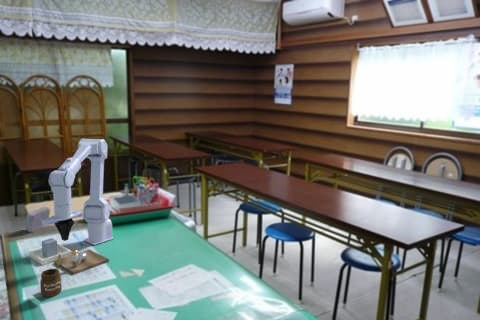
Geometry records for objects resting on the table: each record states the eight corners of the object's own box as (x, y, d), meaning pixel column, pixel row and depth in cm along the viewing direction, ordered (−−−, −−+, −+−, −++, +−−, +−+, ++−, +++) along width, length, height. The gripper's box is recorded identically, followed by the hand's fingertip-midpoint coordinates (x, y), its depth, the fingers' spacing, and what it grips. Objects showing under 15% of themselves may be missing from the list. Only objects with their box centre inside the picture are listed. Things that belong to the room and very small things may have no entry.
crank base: (89, 251, 149) (88, 249, 149) (109, 261, 141) (108, 258, 141) (54, 263, 139) (54, 260, 138) (73, 274, 130) (73, 271, 130)
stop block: (52, 252, 147) (52, 238, 146) (57, 255, 145) (56, 240, 144) (42, 255, 144) (41, 241, 143) (47, 258, 141) (46, 243, 140)
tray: (57, 248, 152) (57, 243, 152) (71, 255, 145) (71, 250, 145) (29, 256, 143) (28, 252, 143) (42, 265, 137) (42, 260, 136)
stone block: (34, 235, 165) (32, 213, 164) (25, 234, 166) (23, 212, 164) (52, 226, 177) (51, 206, 175) (43, 225, 178) (42, 205, 176)
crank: (78, 257, 141) (78, 242, 140) (88, 257, 141) (87, 243, 140) (69, 267, 133) (68, 251, 132) (79, 267, 133) (78, 252, 132)
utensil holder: (38, 292, 118) (35, 256, 116) (59, 285, 123) (57, 251, 121) (44, 299, 114) (41, 263, 112) (65, 292, 118) (63, 257, 116)
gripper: (75, 197, 140) (77, 231, 143) (36, 206, 129) (39, 243, 131) (86, 200, 136) (88, 235, 139) (47, 209, 125) (49, 248, 127)
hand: (64, 239), depth 134 cm, fingers closed
